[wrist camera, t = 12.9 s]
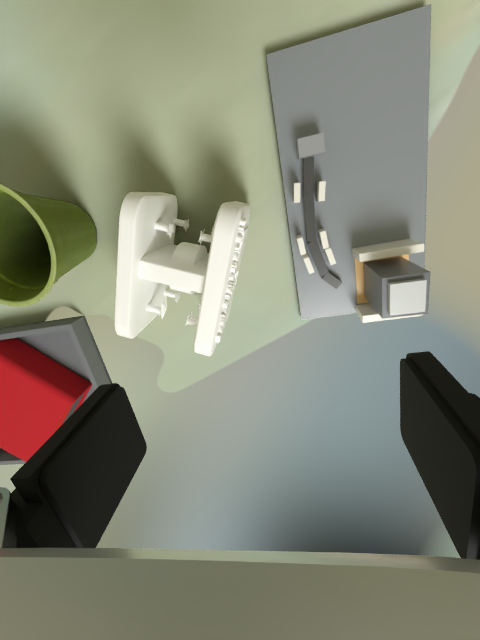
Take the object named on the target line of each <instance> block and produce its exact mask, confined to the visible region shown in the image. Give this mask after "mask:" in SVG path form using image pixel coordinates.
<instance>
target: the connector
mask: <svg viewBox="0 0 480 640" xmlns="http://www.w3.org/2000/svg"><path fill="white" fill-rule="evenodd" d="M363 271H364V296H365V298H366V299H367V300H368V301H369V303H370V304H371V305H372V306H373V308H374V309H375V310H376V311H377V313H378V314H379V315H380V316H381V318H382V319H384V318H394V317H403V316H412V315H421V314H428V305H429V304H428V303H429V285H430V272H429V271H427V270H425V269H424V268H422V267H420V266H418V265H416V264H414V263H412V262H410V261H408V260H407V259H405V258H403V257H397V258H390V259H383V260H376V261H369V262H363Z"/></svg>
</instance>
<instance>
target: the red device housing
mask: <svg viewBox="0 0 480 640" xmlns="http://www.w3.org/2000/svg"><path fill="white" fill-rule="evenodd" d="M91 387H92V383H90V382H89V381H87V380H85V379H84V378H82V377H80V376H79V375H77V374H75V373H74V372H72V371H70V370H69V369H67V368H65V367H64V366H62V365H61V364H59V363H57V362H56V361H54V360H52V359H51V358H49V357H47V356H46V355H44V354H42V353H41V352H39V351H37V350H36V349H34V348H32V347H31V346H29V345H27V344H26V343H24V342H22V341H21V340H19V339H17V338H10V339H4V340H0V448H2V449H3V450H5V451H7V452H9V453H11V454H13V455H14V456H16V457H18V458H20V459H22V460H23V461H25V462H27V461H28V460H29V459H30V458H31V457H32V456H33V455H34V454H35V452H36V451H37V450H38V449H39V448H40V447H41V446H42V445H43V444H44V443H45V442H46V441H47V440H48V439H49V438H50V437H51V436H52V435H53V434H54V433H55V432H56V431H57V429H58V428H59V427H60V426H61V425H62V424H63V423H64V422H65V421H66V420H67V419H68V418H69V417H70V416H71V415H72V414H73V413H74V412H75V411H76V410H77V409H78V408H79V406H80V405H81V404H82V403H83V401H84V399H85V397H86V396H87V394H88V392H89V390H90V388H91Z"/></svg>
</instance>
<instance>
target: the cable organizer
mask: <svg viewBox="0 0 480 640" xmlns="http://www.w3.org/2000/svg"><path fill="white" fill-rule="evenodd" d="M250 210H251V209H250V204H247V203H242V202H238V201H232V202H226V203H222V204H221V206H220V208H219V210H218V213H217V216H216V220H215V224H214V226H213V227H212V232H211V235H208V234H204V231H203V232H202V231H201V233H200V238H199V241H198V242H200V245H197V244H192V243H186V242H181V243H180V244H179V245H178V246H177V245H174V238H175V230H176V225H178V226H183V229H185V233H186V230H187V228H188V227H189V219H188V220H186V219H185V221H184V220H180V219H177V212H178V204H177V198H176V196H175V195H172V194H168V193H164V192H129V193H128V194H127V195H126V196H125V198H124V200H123V203H122V206H121V210H120V216H119V234H118V257H117V279H116V302H115V330H116V333H117V334H118V335H119V336H123V337H127V338H134V337H135V336H136V335H138V334H139V333H140V332H141V331H142V330H143V329H144V328H145V327H146V326H147V325H148V324H149V323H150V322H151V321H152V320H153V319H154V318H155V317H156V316H157V315H158V314H159V316H160V315H162V318H163V316H164V314H165V311H166V309H167V307H166V306H167V296H169V297H173V298H176V300H175V302H176V301H177V303H178V300H179V298H180V296H181V295H180V292H179V293H176V292H172V291H168V288H169V285H170V288H171V289H173V290H177V291H181V292H185V293H189V294H195V293H196V292H198V293H202V298H201V300H200V302H199V306H198V308H199V316H198V319H194V318H192V317H191V313H190V315H188V318H187V322H186V325H188V324H191V325H195V326H197V328H196V334H195V340H194V351H195V353H199V354H203V355H207V356H211V355H212V354H213V352H214V350H215V347H216V345H217V343H220V339H221V337H222V334H223V330H224V327H225V324H226V322H227V319H228V316H229V313H230V309H231V304H232V300H233V295H234V290H235V287H236V283H237V278H238V272H239V267H240V263H241V258H242V255H243V250H244V246H245V241H246V237H247V232H248V225H249V220H250ZM204 230H205V229H204ZM202 241H205V242H210V243H211V245H210V251H209V253H207V248H206V247H205V246H202V245H201V243H202ZM191 312H192V311H191ZM186 325H185V326H186Z"/></svg>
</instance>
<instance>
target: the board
mask: <svg viewBox="0 0 480 640" xmlns="http://www.w3.org/2000/svg"><path fill="white" fill-rule="evenodd" d="M430 30H431V4H430V5H426V6H423V7H420V8H417V9H413V10H410V11H407V12H404V13H400V14H397V15H394V16H390V17H387V18H384V19H381V20H377V21H374V22H371V23H368V24H364V25H361V26H358V27H355V28H351V29H348V30H345V31H341V32H338V33H335V34H332V35H328V36H325V37H322V38H319V39H315V40H312V41H309V42H306V43H302V44H299V45H296V46H292V47H289V48H286V49H283V50H279V51H276V52H273V53H270V54H266V57H267V65H268V73H269V80H270V88H271V95H272V103H273V110H274V118H275V125H276V133H277V140H278V148H279V155H280V163H281V170H282V178H283V185H284V193H285V200H286V208H287V215H288V223H289V230H290V238H291V245H292V253H293V260H294V268H295V275H296V283H297V290H298V298H299V305H300V313H301V320H306V319H313V318H320V317H329V316H336V315H344V314H352V313H357V314H358V315H359V317H360V319H361V320H362V322H363V323H365V322H373V321H381V320H390V319H398V318H405V317H413V316H421V315H422V314H421V315H412V316H403V317H394V318H384V319H382V318H381V316H380V315H379V314H378V313H377V311H376V310H375V309H374V308H373V306H372V305H371V304H370V303H369V301H368V300H367V299H366V298H365V296H364V271H363V262H369V261H376V260H383V259H390V258H397V257H403V258H405V259H407V260H408V261H410V262H412V263H414V264H416V265H418V266H420V267H422V268H424V267H425V231H426V230H425V229H426V191H427V190H426V189H427V150H428V149H427V148H428V111H429V70H430ZM424 269H425V268H424Z"/></svg>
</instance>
